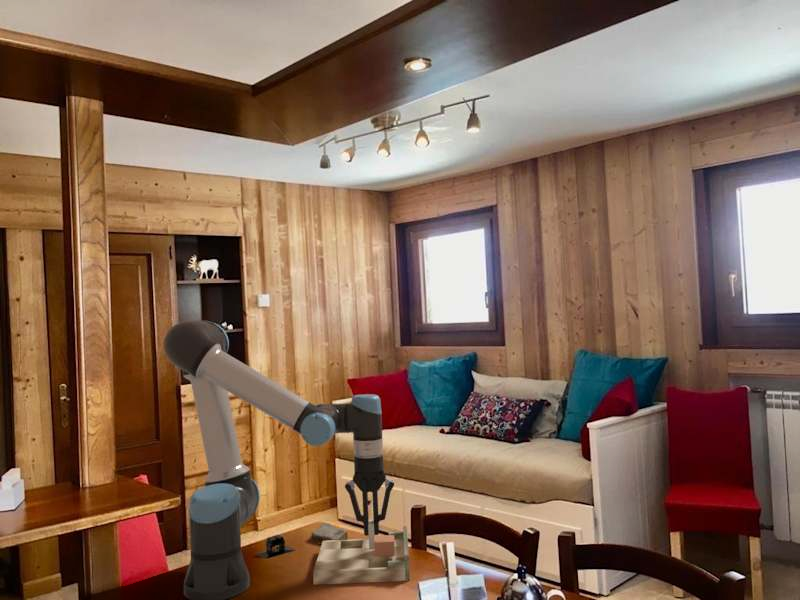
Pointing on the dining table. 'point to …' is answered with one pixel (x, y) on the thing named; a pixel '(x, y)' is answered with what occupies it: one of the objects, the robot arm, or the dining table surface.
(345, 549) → the beige divided tray
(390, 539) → the block
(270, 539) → the black bracket on plate
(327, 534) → the stone
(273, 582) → the dining table surface
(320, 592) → the dining table surface
